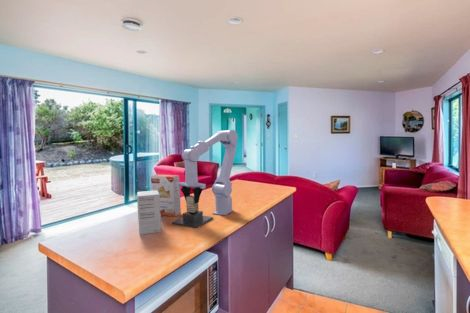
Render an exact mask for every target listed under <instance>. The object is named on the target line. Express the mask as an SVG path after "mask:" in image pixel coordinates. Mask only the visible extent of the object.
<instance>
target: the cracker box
mask: <svg viewBox="0 0 470 313" xmlns="http://www.w3.org/2000/svg"><path fill="white" fill-rule="evenodd" d="M178 183H180V175H177V174H175V175H174V174H153V175H151V176H150V186H151V191H153V190H158V192H159V194H160V215H161V216H167V217H177V216H179V215H180V214H181V213H182V212H181V211H182V210H181V209H182V208H181V187H178Z"/></svg>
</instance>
